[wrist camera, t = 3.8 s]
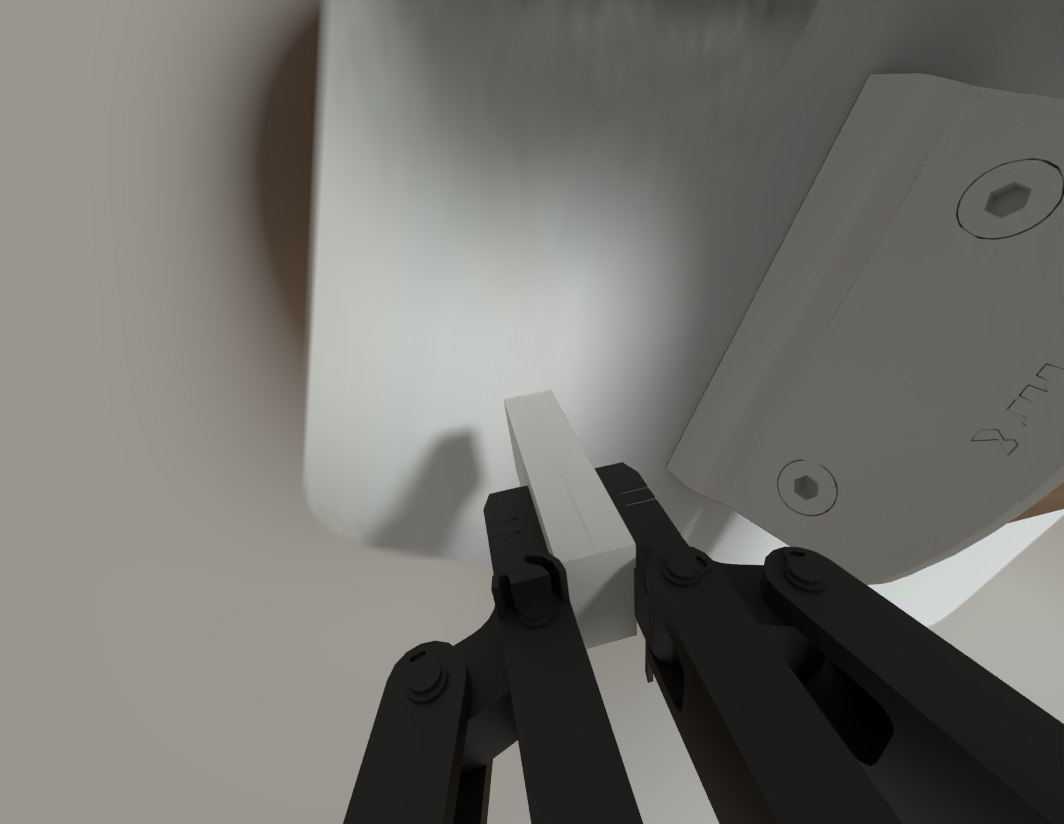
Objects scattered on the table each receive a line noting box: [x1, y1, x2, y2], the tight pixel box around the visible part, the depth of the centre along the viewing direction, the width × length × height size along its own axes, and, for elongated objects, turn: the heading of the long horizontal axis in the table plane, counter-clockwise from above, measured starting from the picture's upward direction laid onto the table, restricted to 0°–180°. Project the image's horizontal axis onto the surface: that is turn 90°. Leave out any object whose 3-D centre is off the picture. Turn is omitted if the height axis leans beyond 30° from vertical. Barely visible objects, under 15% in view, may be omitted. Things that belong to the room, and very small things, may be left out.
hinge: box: [666, 73, 1064, 585], centre depth 16 cm, size 17×5×10 cm, turn 163°
